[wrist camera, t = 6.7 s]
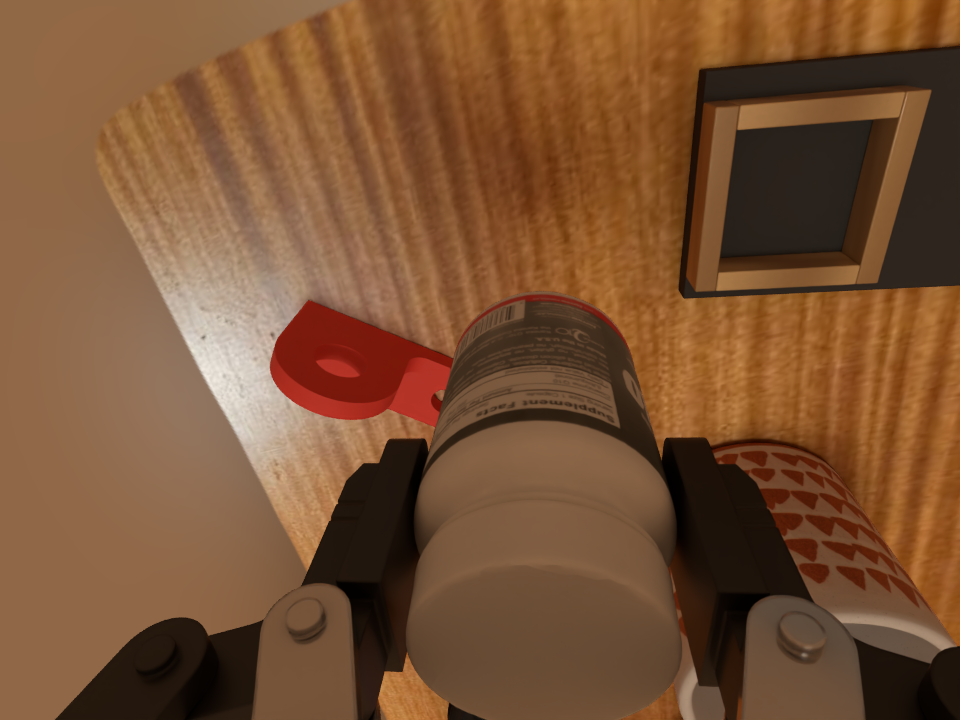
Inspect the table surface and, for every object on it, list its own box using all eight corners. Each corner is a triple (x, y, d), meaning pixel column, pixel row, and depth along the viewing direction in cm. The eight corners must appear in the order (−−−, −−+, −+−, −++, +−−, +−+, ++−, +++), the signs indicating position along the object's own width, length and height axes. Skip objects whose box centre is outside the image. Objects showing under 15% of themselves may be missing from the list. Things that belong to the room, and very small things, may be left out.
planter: (685, 601, 45) (736, 788, 34) (605, 487, 39) (634, 666, 28) (870, 543, 40) (998, 738, 29) (807, 406, 35) (936, 580, 24)
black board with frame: (678, 290, 32) (692, 315, 29) (699, 69, 26) (719, 74, 23) (1054, 271, 29) (1108, 296, 27) (1163, 27, 24) (1245, 27, 21)
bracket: (290, 359, 36) (234, 436, 29) (308, 300, 34) (252, 369, 27) (465, 427, 38) (451, 516, 31) (492, 375, 35) (483, 458, 28)
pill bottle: (618, 441, 16) (681, 763, 9) (455, 431, 17) (393, 734, 10) (642, 288, 14) (755, 561, 7) (453, 281, 14) (368, 533, 7)
